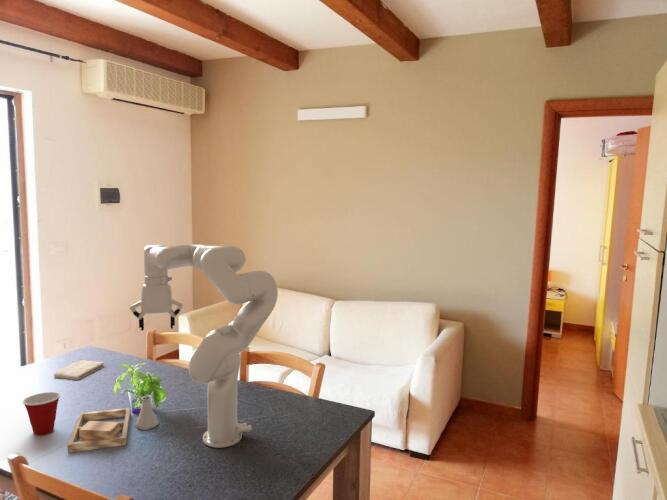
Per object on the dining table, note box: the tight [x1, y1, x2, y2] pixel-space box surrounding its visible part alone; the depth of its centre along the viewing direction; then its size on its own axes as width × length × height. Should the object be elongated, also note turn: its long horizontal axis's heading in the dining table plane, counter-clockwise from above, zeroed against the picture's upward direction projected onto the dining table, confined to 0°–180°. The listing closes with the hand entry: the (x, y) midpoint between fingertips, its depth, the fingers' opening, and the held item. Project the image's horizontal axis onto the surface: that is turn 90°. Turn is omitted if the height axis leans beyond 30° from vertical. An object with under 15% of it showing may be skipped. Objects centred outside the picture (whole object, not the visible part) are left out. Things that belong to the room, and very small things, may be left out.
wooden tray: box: [67, 407, 131, 453], centre depth 165 cm, size 16×22×2 cm
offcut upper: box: [78, 420, 121, 440], centre depth 158 cm, size 10×6×3 cm, turn 88°
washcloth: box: [53, 359, 105, 381], centre depth 215 cm, size 12×18×3 cm, turn 169°
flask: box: [135, 395, 159, 431], centre depth 170 cm, size 7×7×10 cm
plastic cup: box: [22, 391, 61, 436], centre depth 164 cm, size 11×11×12 cm
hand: (157, 328), depth 173 cm, fingers open, 9 cm apart
